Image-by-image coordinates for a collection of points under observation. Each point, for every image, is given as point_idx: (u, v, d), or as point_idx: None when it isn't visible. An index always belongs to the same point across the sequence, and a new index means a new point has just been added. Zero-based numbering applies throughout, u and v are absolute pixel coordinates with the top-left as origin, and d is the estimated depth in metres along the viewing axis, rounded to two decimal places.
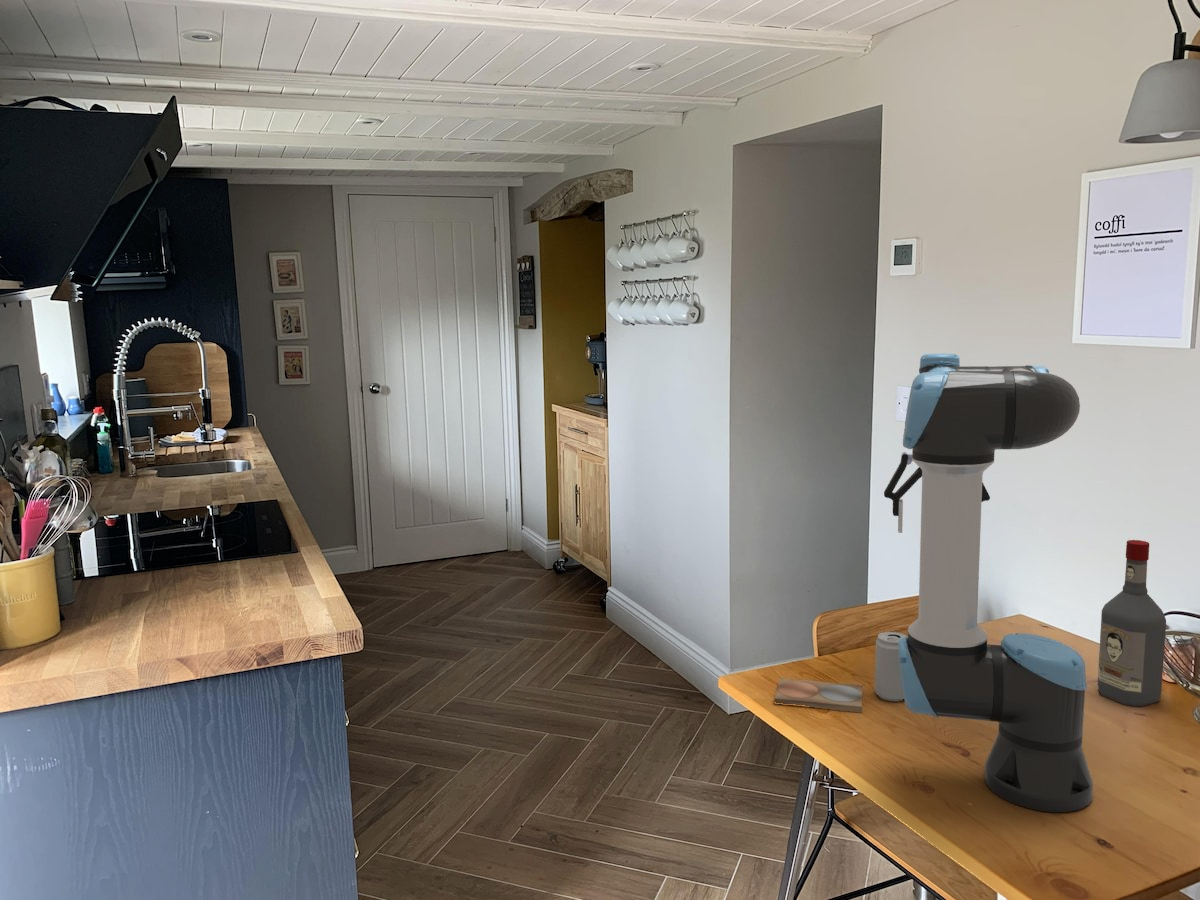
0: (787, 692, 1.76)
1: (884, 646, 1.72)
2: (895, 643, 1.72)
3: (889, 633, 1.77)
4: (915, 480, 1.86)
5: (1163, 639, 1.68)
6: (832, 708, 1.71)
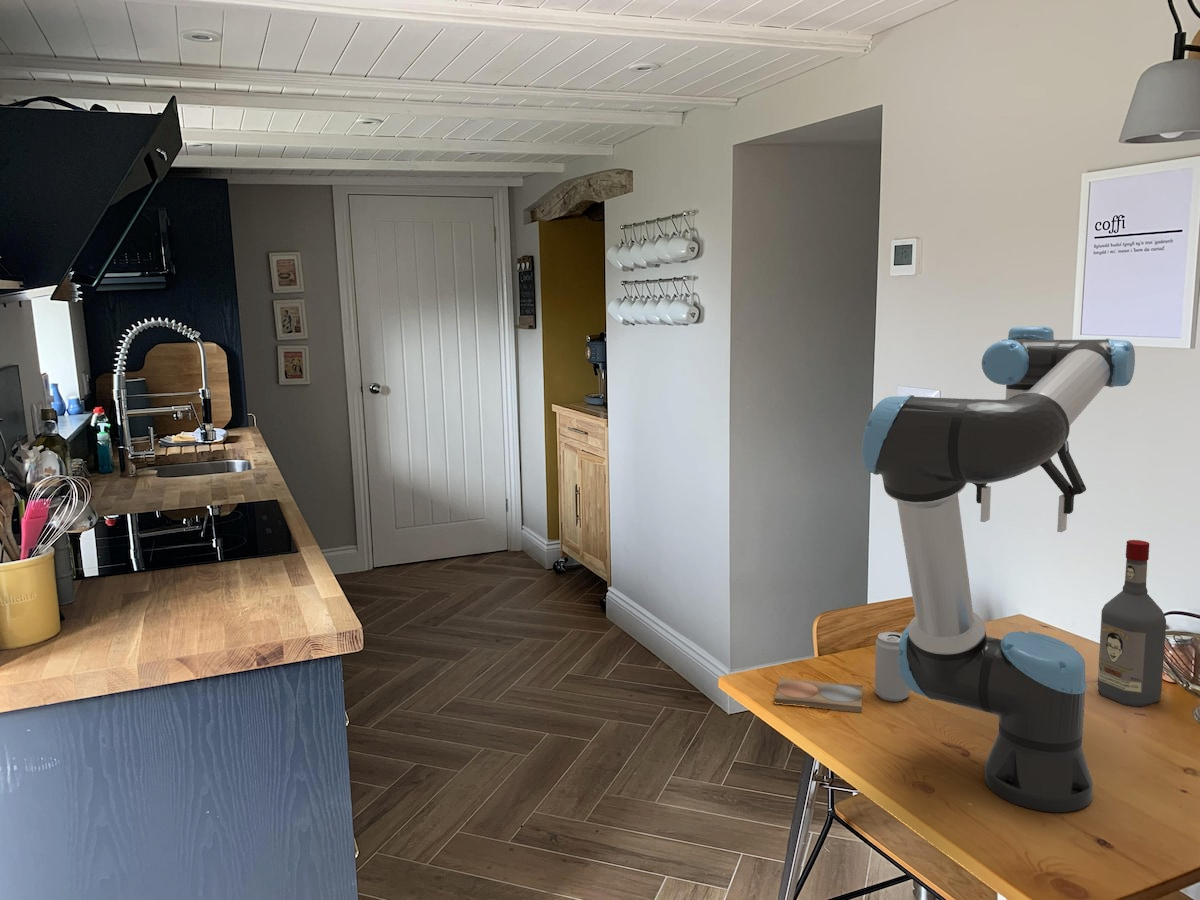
0: (787, 692, 1.76)
1: (884, 646, 1.72)
2: (895, 643, 1.72)
3: (889, 633, 1.77)
4: None
5: (1163, 639, 1.68)
6: (832, 708, 1.71)
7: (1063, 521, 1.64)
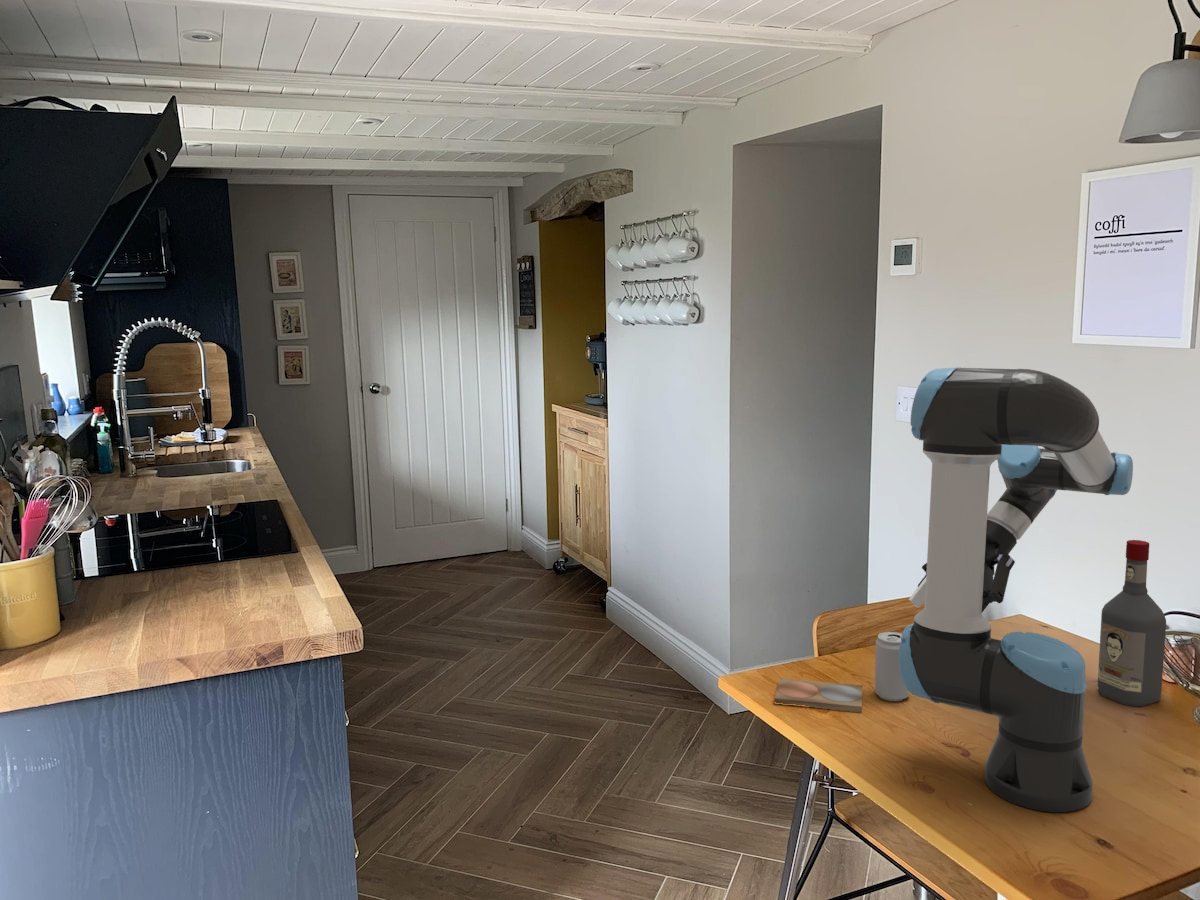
0: (787, 692, 1.76)
1: (884, 646, 1.72)
2: (895, 643, 1.72)
3: (889, 633, 1.77)
4: None
5: (1163, 639, 1.68)
6: (832, 708, 1.71)
7: None
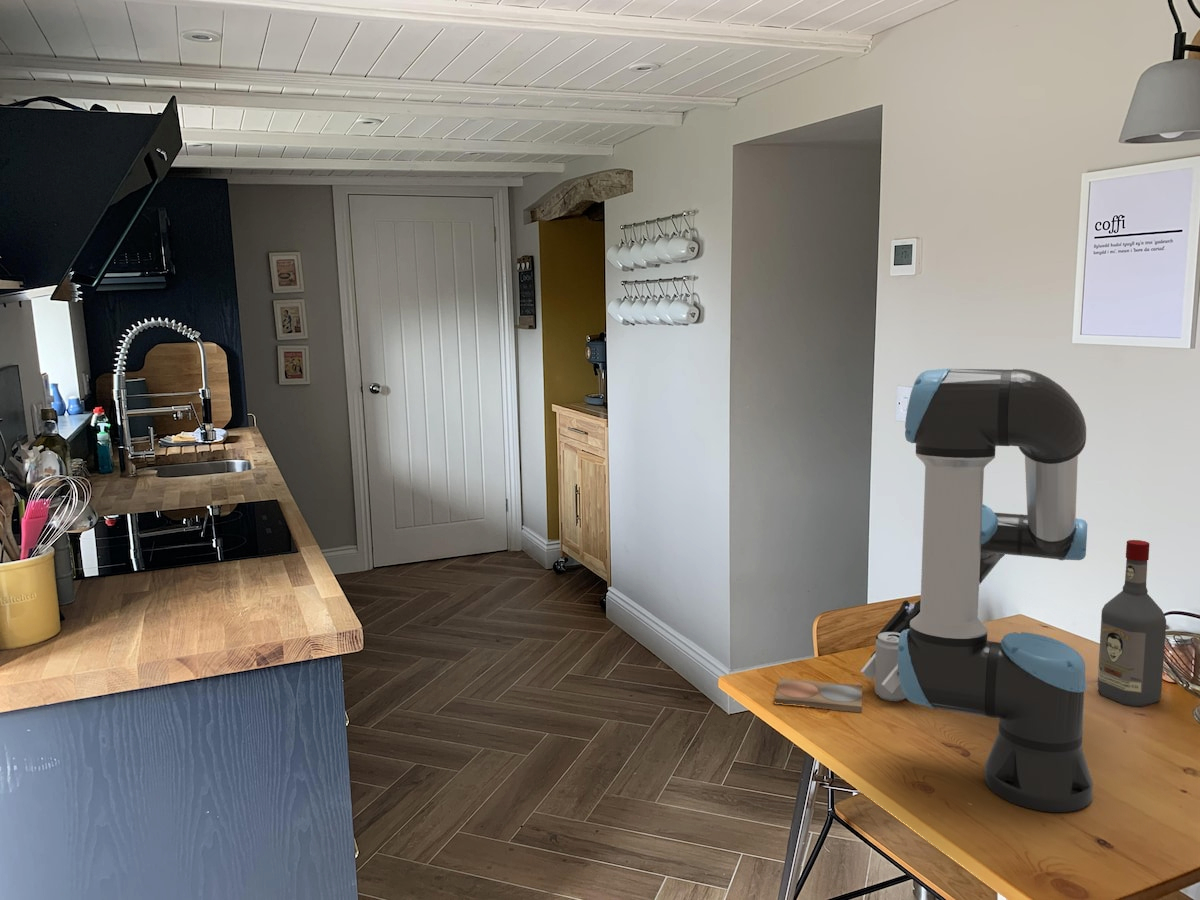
0: (787, 692, 1.76)
1: (884, 646, 1.72)
2: (895, 643, 1.72)
3: (889, 633, 1.77)
4: (903, 625, 1.78)
5: (1163, 639, 1.68)
6: (832, 708, 1.71)
7: (892, 679, 1.71)
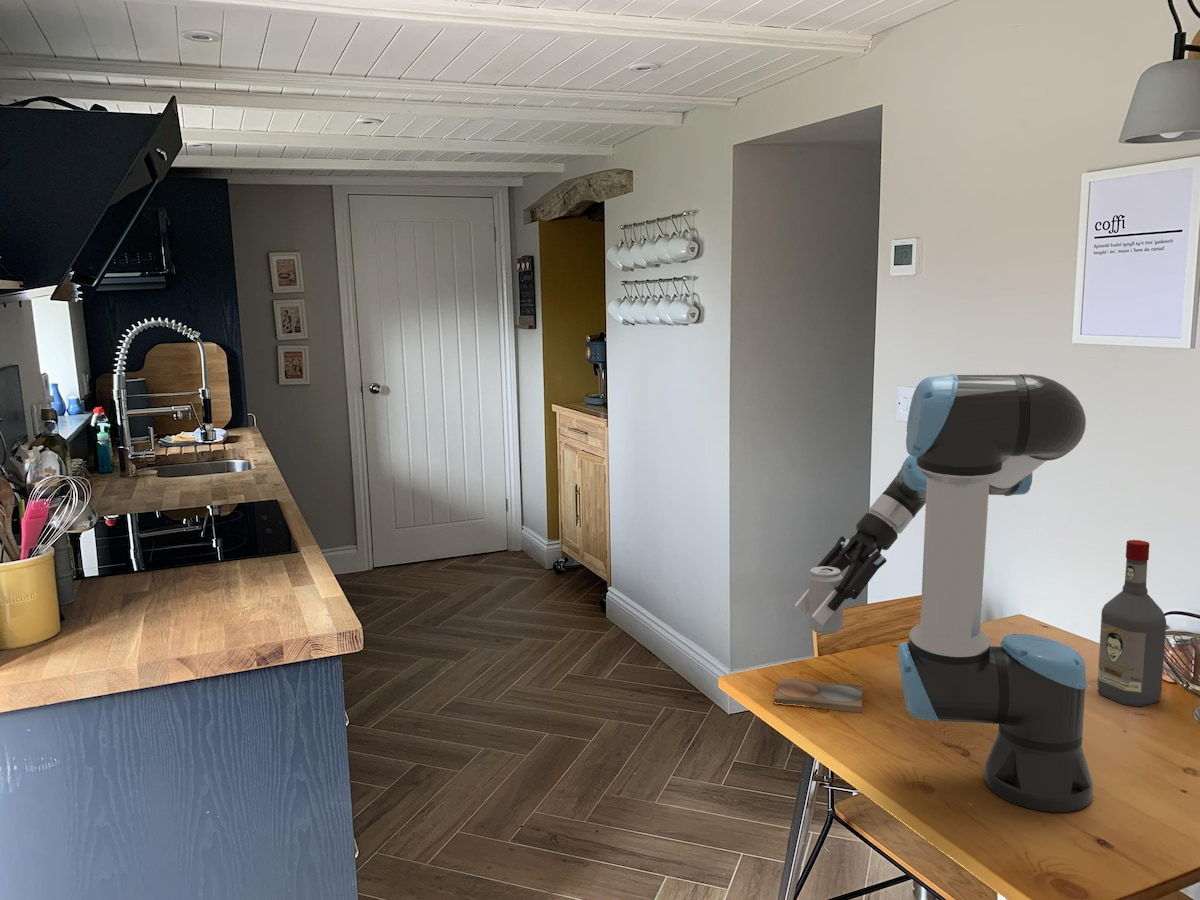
0: (787, 692, 1.76)
1: (815, 579, 1.73)
2: (826, 575, 1.72)
3: (823, 567, 1.77)
4: (837, 560, 1.78)
5: (1163, 639, 1.68)
6: (832, 708, 1.71)
7: (822, 611, 1.72)
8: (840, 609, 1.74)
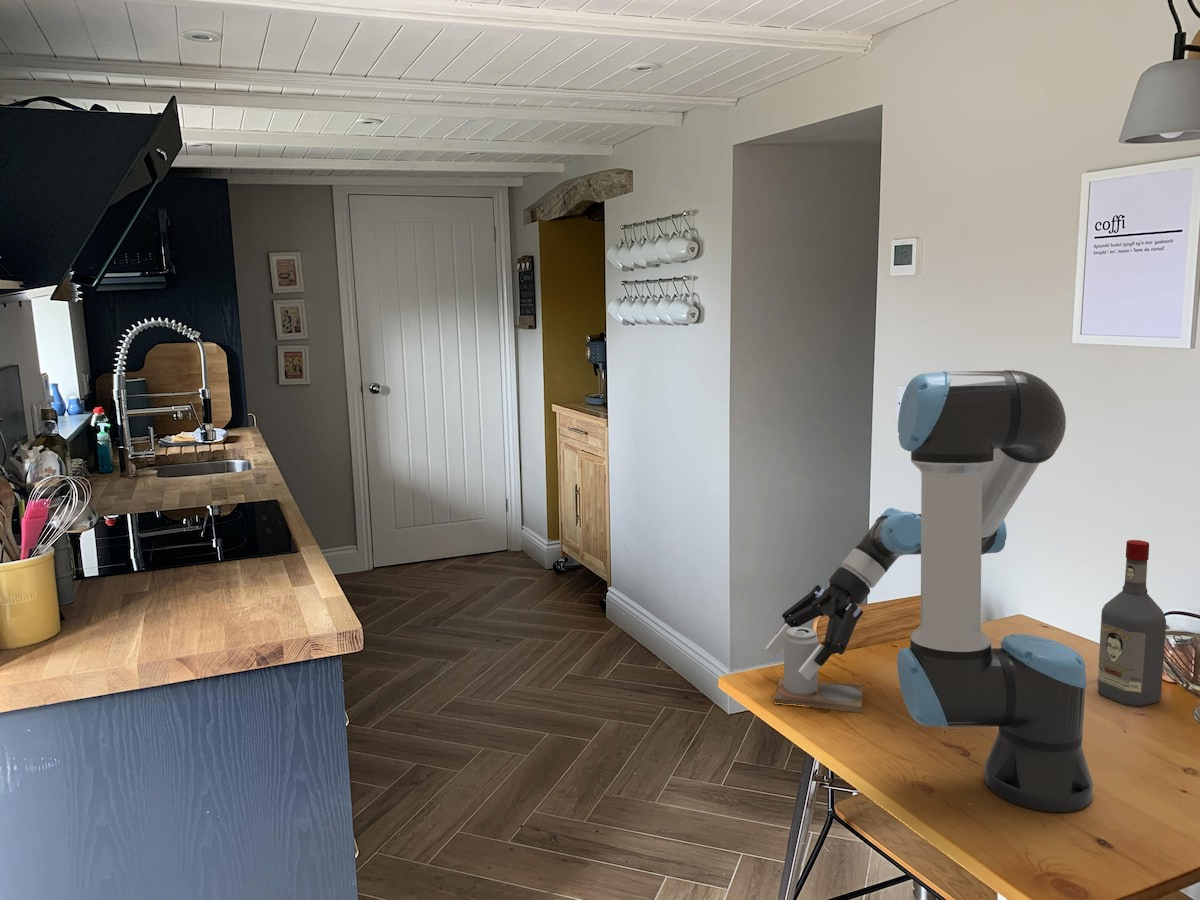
0: (787, 692, 1.76)
1: (791, 641, 1.73)
2: (801, 638, 1.72)
3: (799, 628, 1.77)
4: (808, 609, 1.80)
5: (1163, 639, 1.68)
6: (832, 708, 1.71)
7: (808, 666, 1.69)
8: None
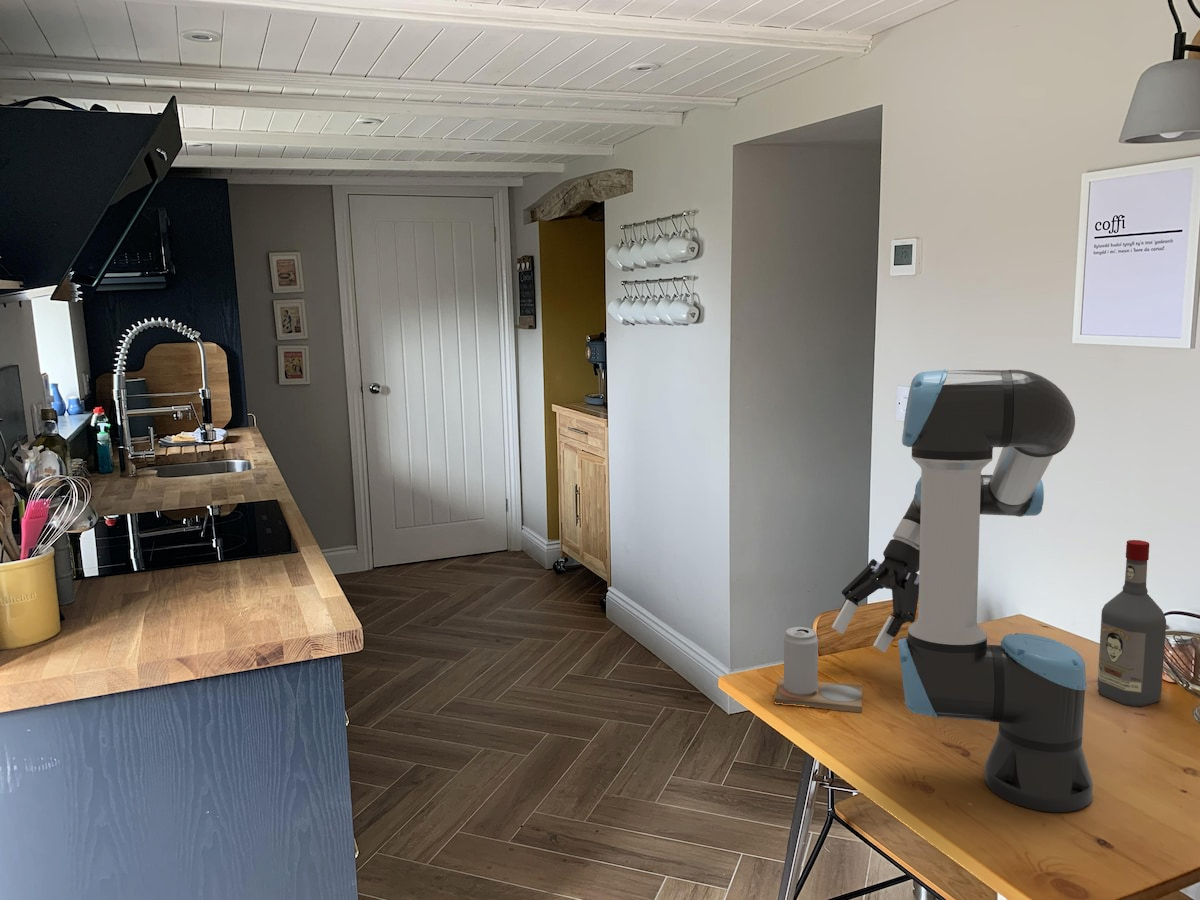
0: (787, 692, 1.76)
1: (791, 641, 1.73)
2: (801, 638, 1.72)
3: (798, 628, 1.77)
4: (867, 584, 1.84)
5: (1163, 639, 1.68)
6: (832, 708, 1.71)
7: (882, 639, 1.73)
8: (815, 672, 1.74)
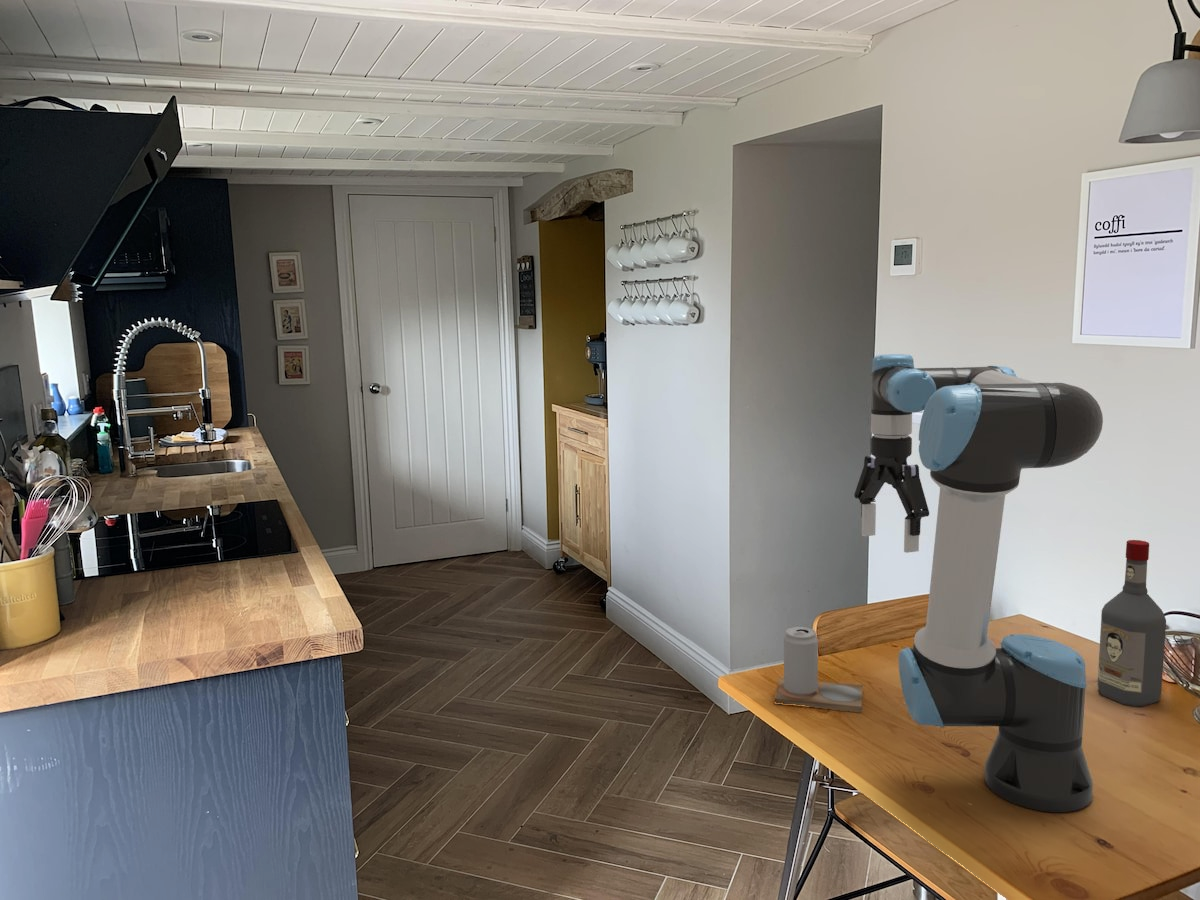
0: (787, 692, 1.76)
1: (790, 641, 1.73)
2: (801, 638, 1.72)
3: (798, 628, 1.77)
4: (872, 484, 1.80)
5: (1163, 639, 1.68)
6: (832, 708, 1.71)
7: (909, 542, 1.71)
8: (815, 671, 1.74)
